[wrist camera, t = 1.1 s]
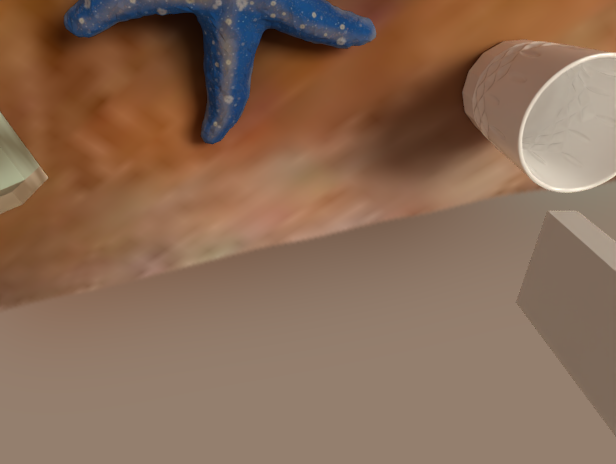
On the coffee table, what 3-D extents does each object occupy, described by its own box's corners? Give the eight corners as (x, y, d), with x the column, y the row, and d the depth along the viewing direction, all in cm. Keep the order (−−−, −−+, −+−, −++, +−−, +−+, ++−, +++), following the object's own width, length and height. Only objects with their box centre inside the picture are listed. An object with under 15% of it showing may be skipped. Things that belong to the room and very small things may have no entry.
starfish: (84, 122, 34) (59, 145, 29) (63, -228, 25) (22, -268, 21) (344, 153, 37) (356, 178, 32) (406, -150, 28) (433, -170, 24)
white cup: (508, 5, 33) (601, 19, 24) (580, 72, 35) (687, 108, 27) (431, 102, 35) (489, 147, 27) (504, 158, 38) (578, 215, 29)
